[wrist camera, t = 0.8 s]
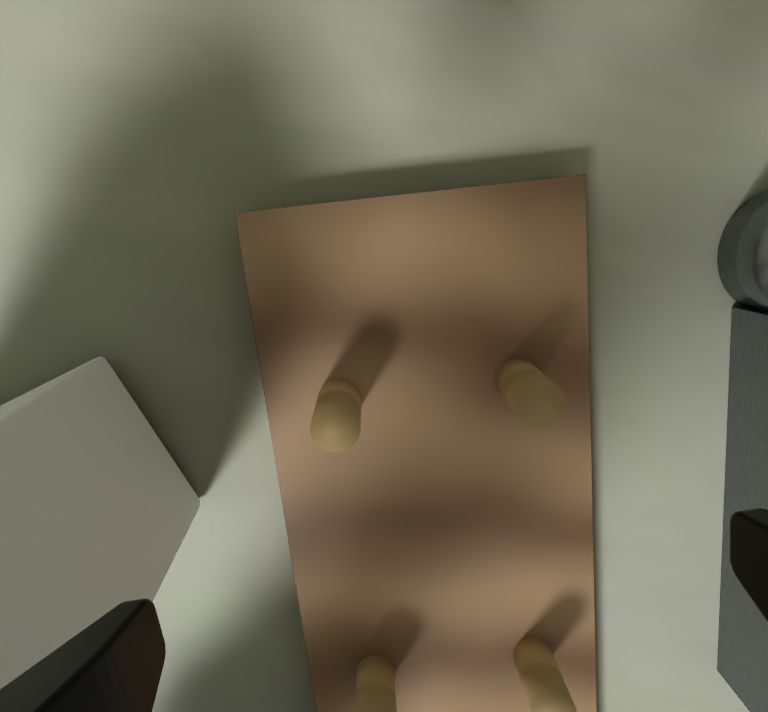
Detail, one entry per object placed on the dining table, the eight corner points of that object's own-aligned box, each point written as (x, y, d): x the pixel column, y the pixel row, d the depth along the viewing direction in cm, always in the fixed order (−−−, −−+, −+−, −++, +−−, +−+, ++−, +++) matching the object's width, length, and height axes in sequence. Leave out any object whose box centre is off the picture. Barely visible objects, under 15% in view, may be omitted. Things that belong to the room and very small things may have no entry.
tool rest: (585, 747, 27) (628, 850, 22) (334, 776, 26) (327, 886, 22) (569, 177, 20) (625, 165, 16) (244, 213, 20) (211, 210, 16)
